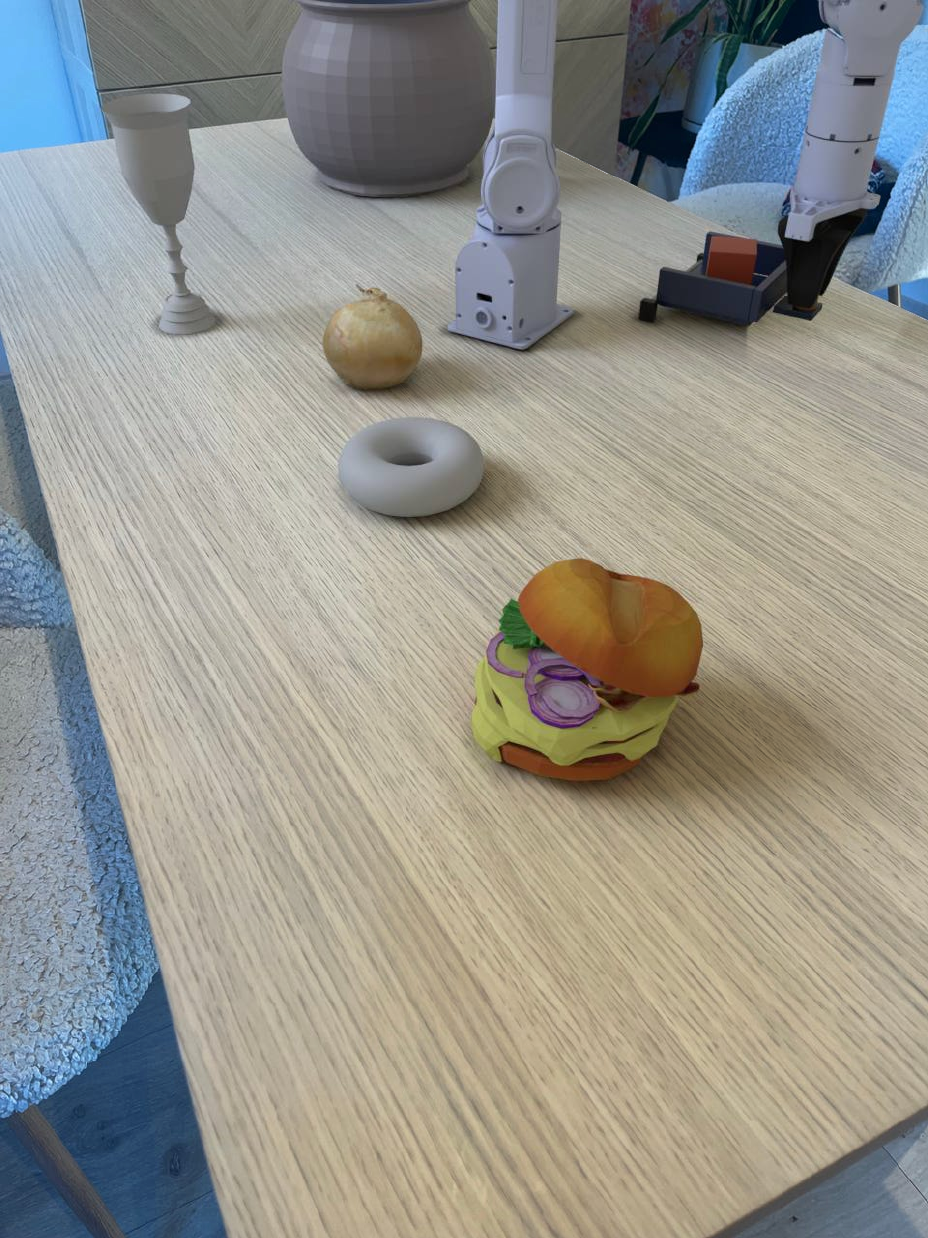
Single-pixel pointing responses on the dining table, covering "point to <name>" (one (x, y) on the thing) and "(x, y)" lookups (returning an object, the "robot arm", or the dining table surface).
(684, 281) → the dark navy tray
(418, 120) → the grey pot
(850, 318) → the dining table surface
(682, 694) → the cheeseburger
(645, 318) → the black bar
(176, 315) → the chalice
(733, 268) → the block
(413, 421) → the donut
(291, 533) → the dining table surface
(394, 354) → the onion
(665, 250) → the dining table surface
